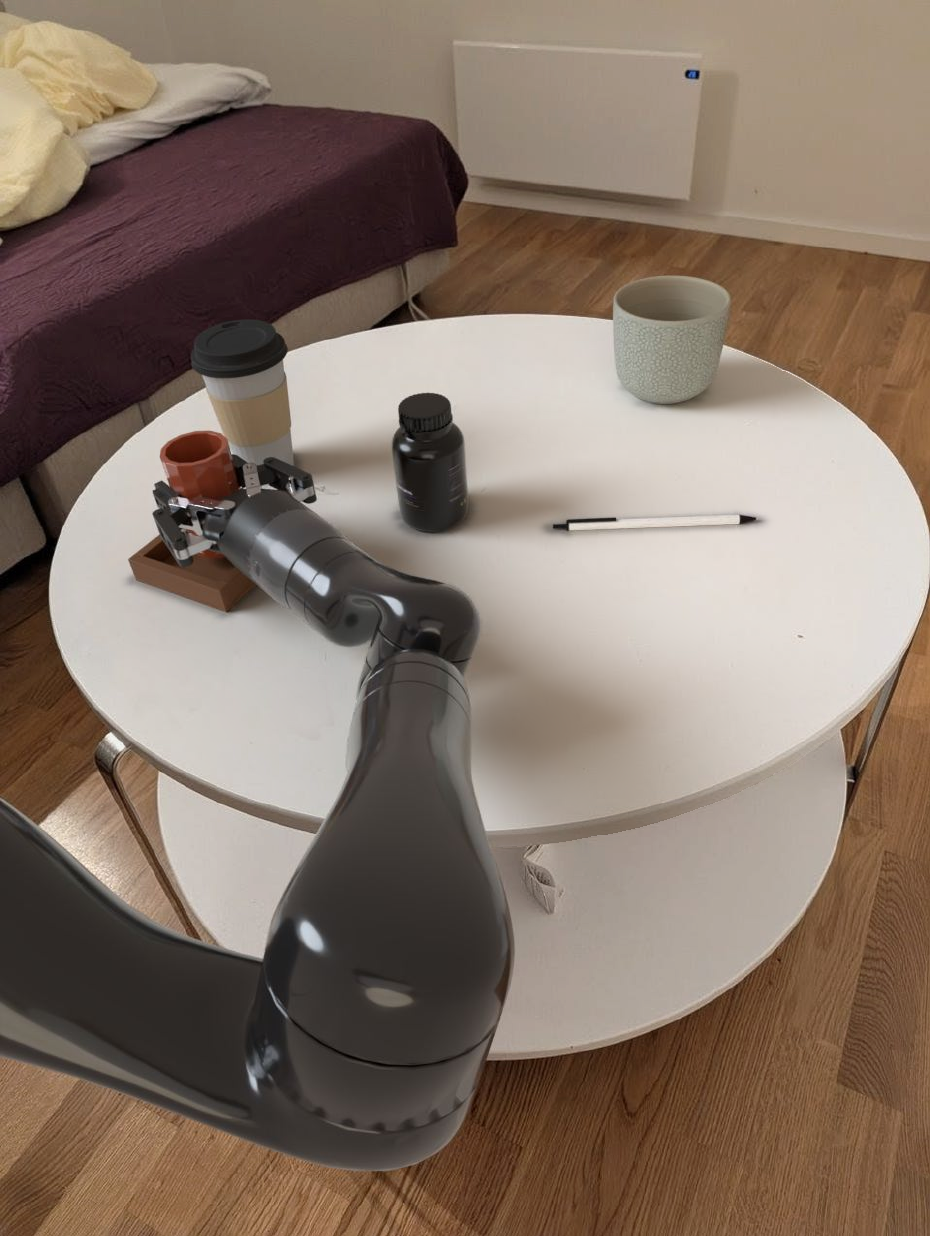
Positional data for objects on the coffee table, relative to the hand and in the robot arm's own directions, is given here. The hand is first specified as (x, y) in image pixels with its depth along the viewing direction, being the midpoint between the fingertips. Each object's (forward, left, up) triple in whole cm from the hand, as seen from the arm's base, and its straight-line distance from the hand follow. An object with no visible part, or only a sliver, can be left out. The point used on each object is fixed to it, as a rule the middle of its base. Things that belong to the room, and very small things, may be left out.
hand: (192, 476), depth 84 cm
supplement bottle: (+13, -17, -8) cm, 23 cm away
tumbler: (-1, -2, -6) cm, 6 cm away
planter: (+45, -29, -8) cm, 54 cm away
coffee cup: (+13, +4, -8) cm, 16 cm away
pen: (+20, -37, -8) cm, 43 cm away
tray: (-1, -2, -8) cm, 8 cm away
